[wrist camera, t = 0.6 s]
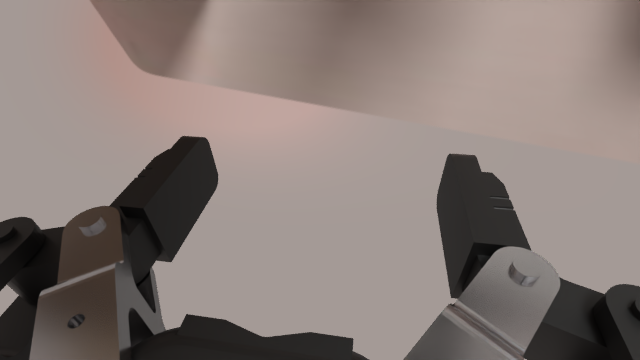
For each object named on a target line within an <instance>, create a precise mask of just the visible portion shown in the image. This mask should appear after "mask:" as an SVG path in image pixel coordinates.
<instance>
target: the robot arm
mask: <svg viewBox="0 0 640 360" xmlns="http://www.w3.org/2000/svg"><path fill="white" fill-rule="evenodd" d="M145 168H146V169H143V171H142V172H141V173H140V174H139V175H138V178H135V179H134V180H133V181H132V182H131V183H130V184H129V185H128V186H127V188H126V189H125V190H124V191H123V192H122V193H121V194H120V195H119V196H118V197H117V198H116V199H115V201H113V203H112V204H111V205H110V206H100V207H95V208H92V209H89V210H86V211H84V212H82V213H80V214H79V215H77V216H75V217H74V218H73V219H72V220H71V221H70V222H68V224H67V225H66V226H65V227H58V228H51V229H45V230H41V229H40V228H39V227H38V225H36V223H35V222H34V221H33V220H32V219H30V218H27V217H18V218H12V219H9V220H5V221H3V222H0V291H1V290H2V289H3V288H4V286H6V284H7V285H8V286H9V287H10V288H11V289H13V290H14V291H15V292H16V293H17V294H18V295H19V296H18V297H17V298H16V300H15V301H14V302H13V303H12V304H11V305H10V306H9V308H8V309H7V310H6V311H5V312H4V313H3V314H2V315H1V317H0V360H369V359H367V358H365V357H364V356H362V355H360V354H358V353H356V352H353V351H352V350H353V338H346V337H339V336H333V335H325V334H318V333H312V332H309V333H299V334H291V335H282V336H273V337H262V336H259V335H257V334H254V333H252V332H250V331H248V330H246V329H244V328H242V327H240V326H237V325H235V324H233V323H231V322H229V321H227V320H223V319H216V318H208V317H202V316H195V315H188V314H186V316H185V318H184V320H183V322H182V325H181V327H179V328H174V329H170V330H166V329H165V327H164V324H163V321H162V316H161V310H160V304H159V298H158V292H157V285H156V280H155V274H154V271H153V269H152V266H153V264H154V263H155V261H156V260H157V261H165V262H172V260H173V258H174V257H175V255H176V254H177V252H178V250H179V249H180V247H181V245H182V244H183V242H184V240H185V239H186V237H187V236H188V234H189V232H190V231H191V229H192V227H193V226H194V224H195V223H196V221H197V219H198V218H199V216H200V214H201V213H202V211H203V210H204V208H205V206H206V205H207V203H208V201H209V200H210V198H211V196H212V195H213V193H214V191H215V190H216V187H217V184H218V172H217V169H216V165H215V162H214V158H213V155H212V151H211V148H210V145H209V142H208V140H207V139H206V138H204V137H189V136H182V137H181V138H180V139H179V140H178V141H177V142H176V143H175V144H174V145H173V147H172V148H171V149H168V150H166V151H165V152H163V153H161V154H160V155H158V156H156V157H155V158H154V159H153V160H152V161H151V162H150V163H149V164H148V165H147V166H146V167H145ZM437 213H438V218H439V225H440V231H441V238H442V244H443V250H444V257H445V262H446V269H447V275H448V282H449V287H450V294H451V298H457V299H458V300H457V301H456V302H455V303H454V304H453V305H452V304H449V305H448V306H447V307H446V308H445V309H444V310H443V311H442V312H441V314H440V315H439V316H438V317H437V319H436V320H435V321H434V322H433V324H432V325H431V326H430V327H429V329H428V330H427V331H426V332H425V334H424V335H423V336H422V337H421V339H420V340H419V341H418V342H417V343H416V345H415V346H414V347H413V348H412V350H411V351H410V352H409V353H408V355H407V356H406V357H405V358H404V360H524V358H525V359H527V360H640V287H639V286H634V285H628V284H622V285H621V284H620V285H616V286H614V287H612V288H610V289H609V290H608V291H607V292H606V293H605V294H602V293H599V292H597V291H594V290H591V289H588V288H585V287H583V286H580V285H576V284H574V283H571V282H569V281H566V280H563V279H562V278H560V277H559V276H558V273H557V272H556V270H555V269H554V267H553V266H552V265H551V264H550V263H549V262H548V261H547V260H545V259H544V258H543V257H542V256H540V255H538V254H537V253H535V252H533V251H531V248H530V246H529V244H528V241H527V239H526V237H525V234H524V232H523V229H522V227H521V224H520V222H519V220H518V217H517V215H516V212H515V211H514V210H513V205H512V203H511V201H510V200H509V195H508V193H507V191H506V189H505V186H504V184H503V183H502V182H501V181H500V180H499V179H498V178H497V177H496V176H495V175H494V174H493V173H488V172H487V173H486V172H481V169H480V166H479V163H478V160H477V158H476V156H475V155H462V154H449V155H448V157H447V160H446V163H445V167H444V170H443V174H442V178H441V182H440V186H439V190H438V194H437Z"/></svg>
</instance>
